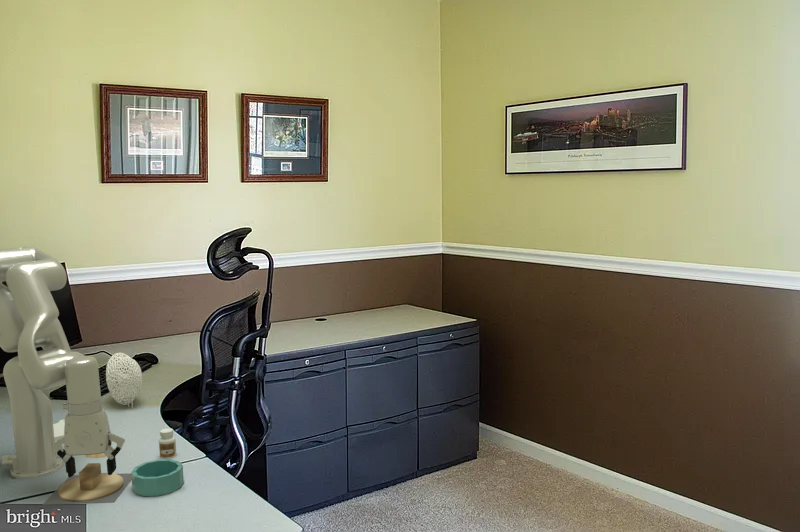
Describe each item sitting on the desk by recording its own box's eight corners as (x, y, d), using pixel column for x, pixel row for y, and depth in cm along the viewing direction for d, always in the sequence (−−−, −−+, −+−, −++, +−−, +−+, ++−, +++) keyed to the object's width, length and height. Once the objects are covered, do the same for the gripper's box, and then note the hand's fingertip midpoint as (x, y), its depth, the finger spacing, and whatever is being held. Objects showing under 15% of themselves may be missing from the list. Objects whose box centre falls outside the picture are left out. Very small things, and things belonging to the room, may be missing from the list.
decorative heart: (149, 408, 250) (146, 358, 248) (116, 415, 244) (112, 363, 242) (134, 395, 265) (131, 347, 262) (103, 401, 259) (99, 352, 256)
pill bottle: (159, 461, 205) (157, 433, 204) (160, 455, 209) (158, 428, 208) (176, 459, 206) (174, 432, 205) (176, 453, 210) (175, 426, 209)
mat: (42, 506, 178) (41, 504, 178) (70, 477, 195) (70, 475, 195) (114, 504, 179) (114, 502, 179) (136, 474, 196) (136, 473, 196)
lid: (48, 502, 179) (46, 481, 179) (73, 476, 194) (71, 457, 194) (111, 500, 180) (109, 479, 179) (131, 474, 195) (130, 455, 194)
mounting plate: (99, 436, 225) (99, 430, 225) (52, 446, 218) (52, 440, 218) (85, 421, 240) (85, 415, 240) (41, 429, 233) (40, 423, 233)
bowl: (126, 499, 182) (125, 479, 181) (141, 478, 193) (140, 460, 193) (176, 497, 182) (174, 477, 181) (188, 477, 194) (187, 458, 193)
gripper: (42, 413, 180) (50, 482, 182) (115, 410, 181) (121, 478, 183) (56, 404, 188) (62, 470, 190) (125, 400, 188) (131, 466, 190)
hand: (91, 474), depth 186 cm, fingers open, 9 cm apart
